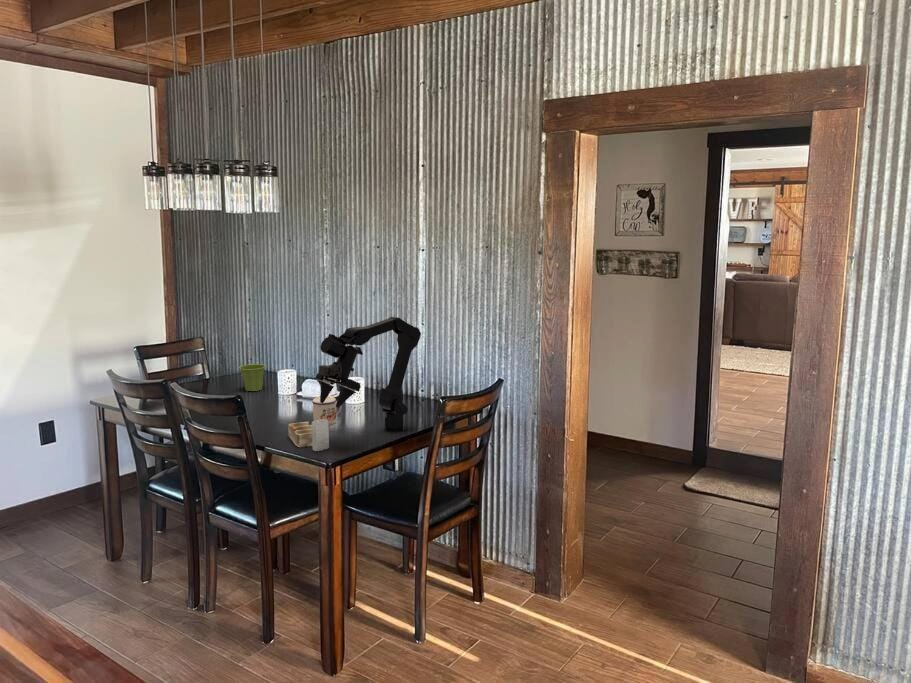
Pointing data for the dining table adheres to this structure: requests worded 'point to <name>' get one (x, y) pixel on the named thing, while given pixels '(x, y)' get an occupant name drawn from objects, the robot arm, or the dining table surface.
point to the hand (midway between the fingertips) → (329, 405)
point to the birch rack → (300, 434)
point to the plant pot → (252, 376)
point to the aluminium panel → (320, 435)
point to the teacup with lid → (325, 409)
